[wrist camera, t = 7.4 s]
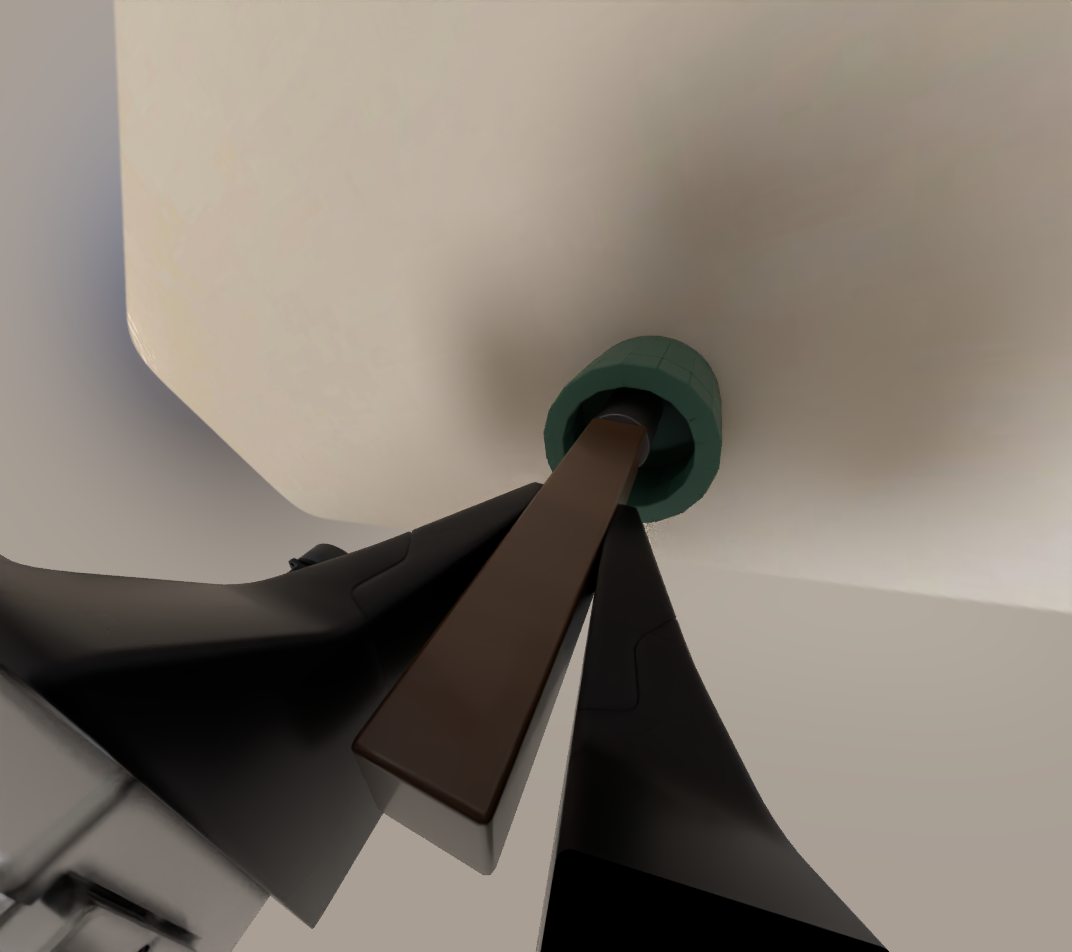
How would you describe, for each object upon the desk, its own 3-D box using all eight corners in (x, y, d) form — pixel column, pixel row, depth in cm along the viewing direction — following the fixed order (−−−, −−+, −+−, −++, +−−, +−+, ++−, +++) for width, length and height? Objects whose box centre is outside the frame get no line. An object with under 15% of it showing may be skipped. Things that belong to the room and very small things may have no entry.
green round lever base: (700, 477, 16) (695, 542, 12) (575, 450, 18) (539, 501, 14) (740, 344, 13) (749, 379, 10) (588, 327, 15) (547, 351, 11)
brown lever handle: (656, 437, 15) (508, 898, 4) (605, 427, 15) (364, 808, 5) (668, 385, 13) (507, 831, 3) (613, 377, 14) (323, 726, 4)
